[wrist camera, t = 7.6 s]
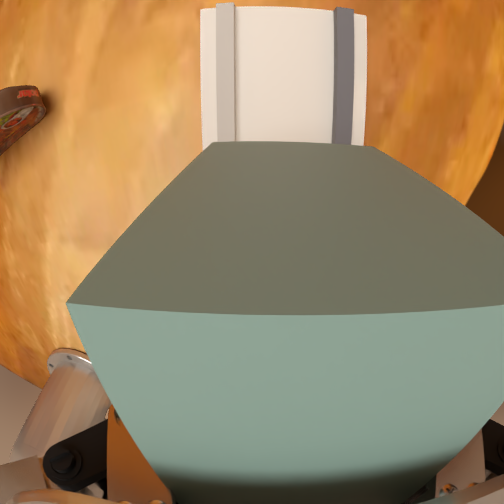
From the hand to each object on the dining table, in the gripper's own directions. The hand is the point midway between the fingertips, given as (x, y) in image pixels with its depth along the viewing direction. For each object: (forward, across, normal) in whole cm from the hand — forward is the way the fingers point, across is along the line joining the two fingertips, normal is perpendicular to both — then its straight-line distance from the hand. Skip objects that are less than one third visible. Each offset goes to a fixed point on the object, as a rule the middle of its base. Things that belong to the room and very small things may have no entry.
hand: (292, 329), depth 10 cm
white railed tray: (+18, 0, 0) cm, 18 cm away
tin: (+18, +27, -7) cm, 33 cm away
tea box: (+2, 0, 0) cm, 2 cm away
